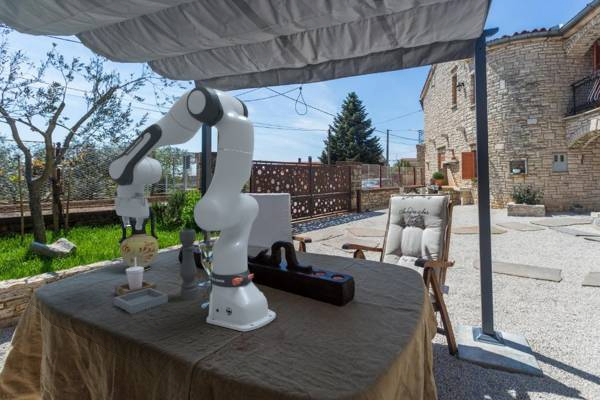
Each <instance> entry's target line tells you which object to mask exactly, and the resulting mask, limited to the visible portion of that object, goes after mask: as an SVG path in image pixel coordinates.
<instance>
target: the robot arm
mask: <svg viewBox="0 0 600 400" xmlns="http://www.w3.org/2000/svg"><path fill="white" fill-rule="evenodd" d="M203 125H206V126H207V127H208V128H212V127H214V128H216V129H217V131H218V144H217V152H216V153H217V154H216V160H215V168H214V173H213V176H212V180H211V182H210V184H209V187H208V189H207V191H206V192H205V194H204V195H203V196H202V197H201V199H199V201H197V202H196V204H195V206H194V209H193V219H194V222H195V223H196V225H197V227H199V228H200V229H202V230H204V231H209V232H219V231H220V233H219V235H218V238H217V239H216V241H215V242H214V244H213V246H212V249H211V251H212V252H211V253H212V271H211V275H210V278H211V284H212V288H211V291H210V294H209V307H208V316H207V317H206V323H207V324H212V325H215V326H219V327H224V328H227V329H231V330H236V331H240V332H250V331H252V330H257V329H260V328H262V327H264V326H266V325H268V324H270V323H271V322H272V321H273V320H275V319H276V317H277V316H276V315H277V314H276V312H275V311H273V310H271V309H269V304H268V300H267V298H266V296H265V295H264V294H265V293H264V292H262V291H261V290H259V288H258V287H257V286H256V285H255V284H254V282H253V281H252V280H253V278H254V275H255V274H254V273H250V269H249V268H248V245H249V244H248V243H249V239H250V234H251V232H252V231H251V230H252V226H253V223H254V221H255V220H256V218H257V217H258V214H259V211H260V209H259V208H260V207H259V203H258V201H257V199H255V197H253V196H252V195H249V194H246V193H242V189H243V188H244V186H245V185H246V183H247V182H248V181H249V180H250V178H251V175H252V167H253V158H254V149H255V128H254V127H255V126H254V124H253V121H252V120H251V119H250V118H249V109H248V107H247V106H246V104H245V102H243V101H242V100H241V99H240V98H237V97H235V96H232V95H230V94H228V93H227V92H226V91H223V90H221V89H220V90H219V89H216V88H213V87H210V86H204V85H201V86H200V85H199V86H196V87H194V88H192V89H189V90H186V91H185V93H183V94H182V95H181V96H180V97H179V98H178V99H177V100H176V101H175V102H174V104H172V106H171V107H170V108H169V110H168V111H167V112H166V113H165V114H164V116H162V117H161V118H160V119H159V120H157V121H156V122H154V123H153V124H151V125H149V126H147V127H146V128H145V129H144V130H143V131H142V132H141V133H140V134H139V135H138V136H137V137H136V138H135V139H134V140H133V141H132V142H131V143H130V144H129V146H128V147H127V148H126V149H124V150H122V151H119V153H118V155H117V156H115V157H114V158H113V159H112V160H111V161H110V162H109V165H108V170H107V171H108V175H109V177H110V179H111V180H112V182H114V183H115V184H117V188H116V190H114V191H113V197H114V204H115V205H114V207H115V212H116V215H117V216H122V220H123V222H124V227H125V228H126V229H129V228H131V226H130V223H129V217H133V218H136V221H137V223H136V225H135V227H136V228H135V229H136V230H141V229H142V223H143V218H148V217H149V209H150V208H149V201H148V199H147V197H146V196H145V185H153V184H157V183H159V182H160V181H161V180H162V178H163V175H164V167H163V165H162V163H161V162H160V161H159V160H158V159H155V158H152V157H150V156H149V154H151V153H152V152H153V151H155V150H157V149H159V148H162V147H168V146H176V145H182V144H183V145H184V144H186V143H187V142H189V141H191V140H192V139H193V138H194V137H195V136H196V134H197V133H198V132H199V131H200V129H201V128H202V126H203Z"/></svg>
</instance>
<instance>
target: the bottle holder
mask: <svg viewBox="0 0 600 400" xmlns="http://www.w3.org/2000/svg"><path fill="white" fill-rule="evenodd" d="M147 288H152V289H155V290H157V284H156V283H154V282H151V281H149V280H145V279H143V278H142V287H140V288H137V289H133V290H130V288H129V282H127V283H124V284H123V283H122V284H120V285H115V286H114V294H115V295H116V294H117V295H116V296H118V295H119V296H122V295H126V294H129V293H133V292H136V291H140V290H144V289H147Z"/></svg>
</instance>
